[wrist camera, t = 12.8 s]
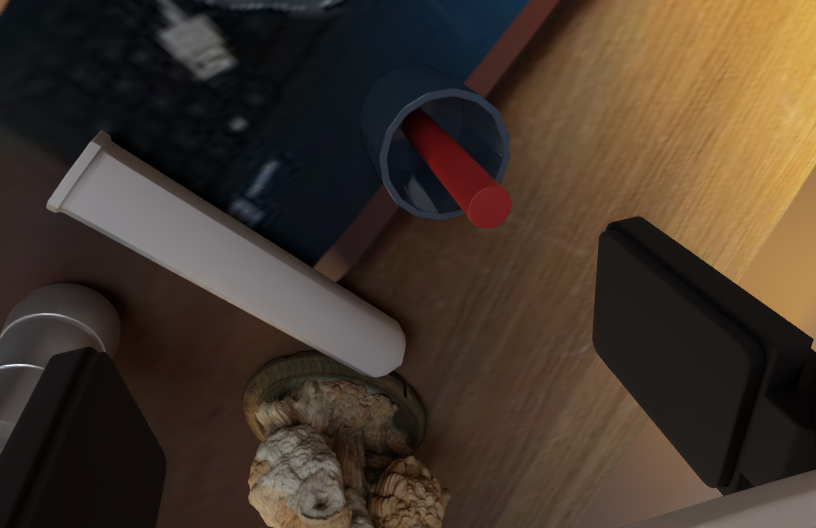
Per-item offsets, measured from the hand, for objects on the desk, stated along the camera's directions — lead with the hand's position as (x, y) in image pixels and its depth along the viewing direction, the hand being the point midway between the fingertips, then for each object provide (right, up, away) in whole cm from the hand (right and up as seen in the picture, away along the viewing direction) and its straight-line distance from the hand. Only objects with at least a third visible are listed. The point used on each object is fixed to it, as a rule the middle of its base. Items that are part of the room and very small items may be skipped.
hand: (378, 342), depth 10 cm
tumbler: (+1, +11, +25) cm, 28 cm away
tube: (-10, +2, +28) cm, 30 cm away
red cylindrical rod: (+1, +11, +25) cm, 27 cm away
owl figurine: (-5, -11, +37) cm, 39 cm away
